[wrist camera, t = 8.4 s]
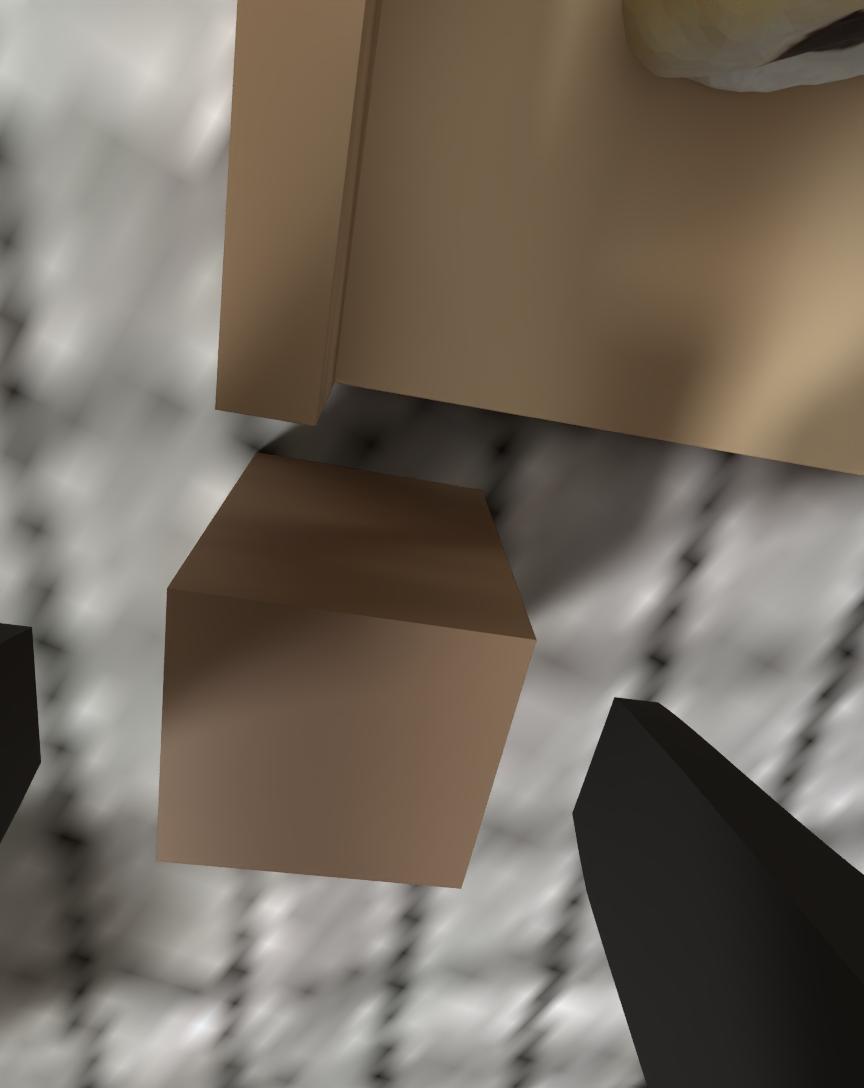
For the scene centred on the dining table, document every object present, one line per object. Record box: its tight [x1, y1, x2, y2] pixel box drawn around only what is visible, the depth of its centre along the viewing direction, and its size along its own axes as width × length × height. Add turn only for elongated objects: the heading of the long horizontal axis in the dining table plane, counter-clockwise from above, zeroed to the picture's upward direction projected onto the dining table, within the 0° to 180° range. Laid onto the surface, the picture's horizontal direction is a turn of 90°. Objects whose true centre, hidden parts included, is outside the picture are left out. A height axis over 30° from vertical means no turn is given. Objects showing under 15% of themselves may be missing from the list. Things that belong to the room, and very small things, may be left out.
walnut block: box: [156, 452, 536, 889], centre depth 10 cm, size 4×4×5 cm
